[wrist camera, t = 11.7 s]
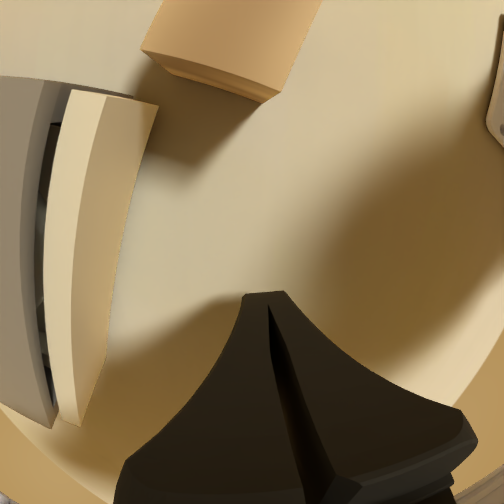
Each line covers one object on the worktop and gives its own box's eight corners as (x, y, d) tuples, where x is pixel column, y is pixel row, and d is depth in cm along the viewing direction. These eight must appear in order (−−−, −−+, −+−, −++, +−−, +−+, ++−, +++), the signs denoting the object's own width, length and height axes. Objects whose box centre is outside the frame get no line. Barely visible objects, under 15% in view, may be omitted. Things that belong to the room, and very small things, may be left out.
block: (296, 26, 7) (330, -16, 4) (262, 103, 8) (280, 92, 5) (208, -2, 6) (199, -56, 3) (172, 74, 8) (139, 49, 4)
